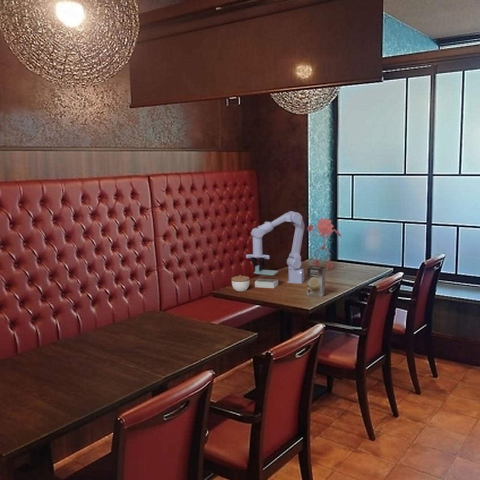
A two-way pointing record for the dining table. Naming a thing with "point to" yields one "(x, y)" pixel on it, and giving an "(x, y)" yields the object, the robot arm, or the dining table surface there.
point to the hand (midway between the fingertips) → (258, 270)
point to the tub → (266, 283)
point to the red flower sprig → (324, 228)
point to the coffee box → (316, 281)
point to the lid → (264, 271)
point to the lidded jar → (240, 283)
